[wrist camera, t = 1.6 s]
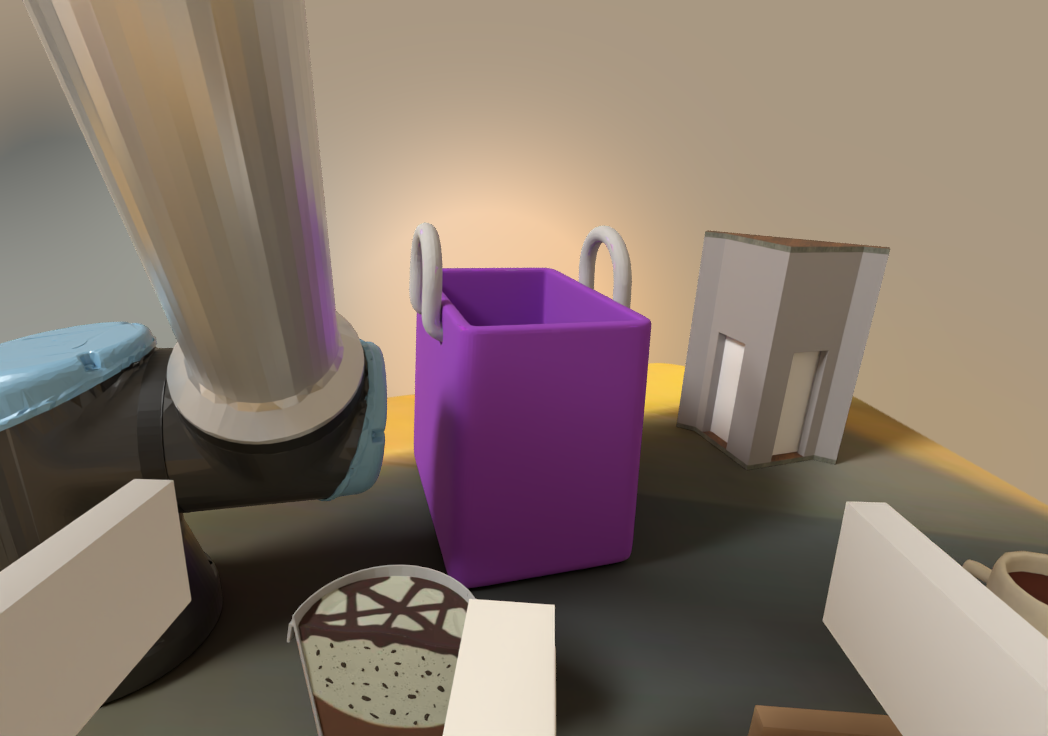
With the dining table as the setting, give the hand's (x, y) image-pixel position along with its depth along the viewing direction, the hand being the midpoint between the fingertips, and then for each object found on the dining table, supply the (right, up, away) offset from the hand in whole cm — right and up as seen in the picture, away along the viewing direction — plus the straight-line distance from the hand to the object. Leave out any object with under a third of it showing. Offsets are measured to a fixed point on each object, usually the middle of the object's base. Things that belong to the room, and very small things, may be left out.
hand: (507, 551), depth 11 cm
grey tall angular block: (+30, -8, +66) cm, 73 cm away
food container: (-8, -20, +28) cm, 35 cm away
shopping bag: (-1, -12, +52) cm, 54 cm away
